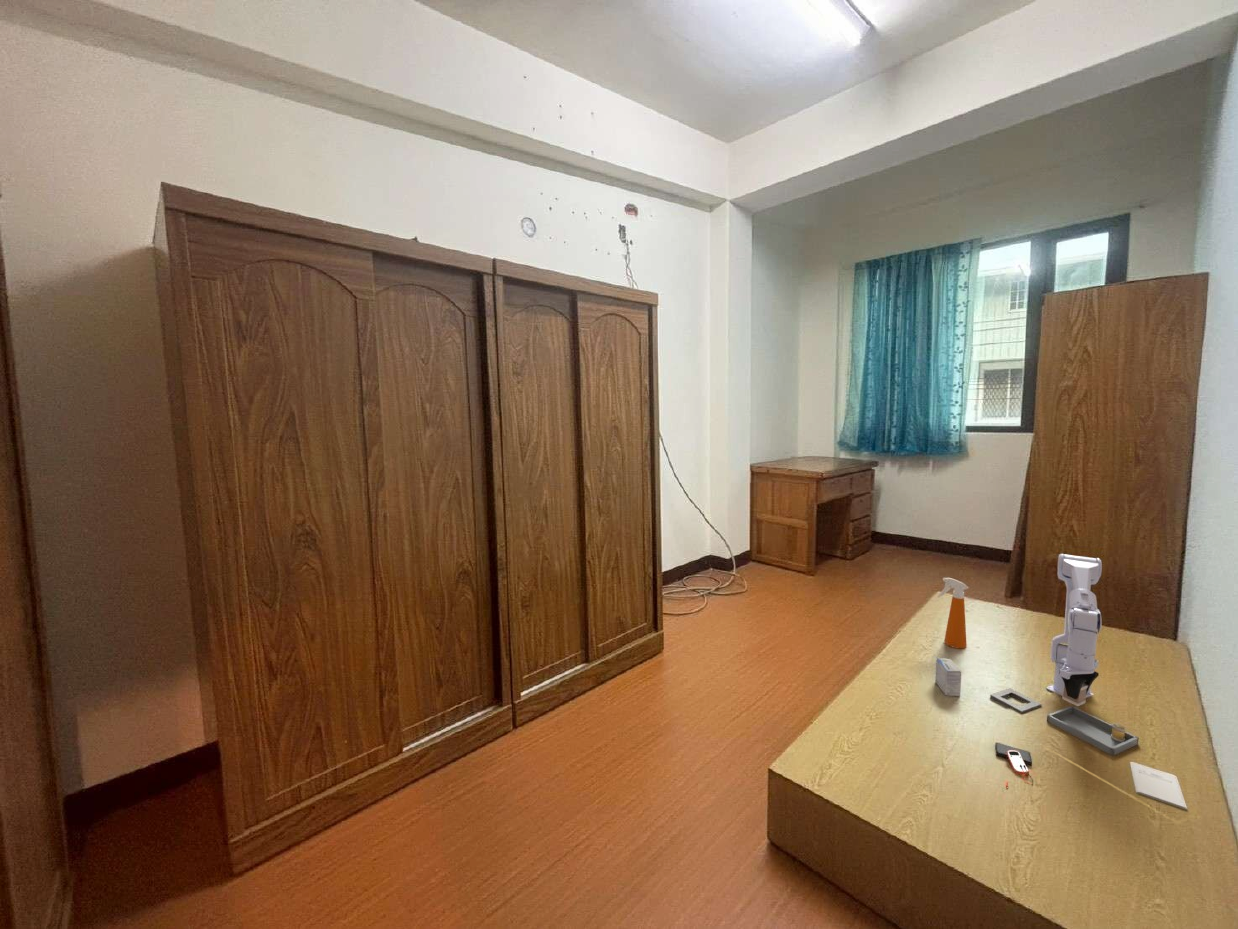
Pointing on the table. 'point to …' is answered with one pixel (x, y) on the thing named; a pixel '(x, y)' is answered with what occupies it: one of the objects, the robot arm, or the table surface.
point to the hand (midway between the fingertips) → (1076, 695)
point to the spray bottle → (955, 614)
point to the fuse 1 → (1081, 697)
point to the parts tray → (1090, 730)
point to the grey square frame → (1010, 692)
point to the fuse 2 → (1118, 732)
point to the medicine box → (948, 677)
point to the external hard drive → (1157, 785)
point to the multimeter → (1015, 758)
